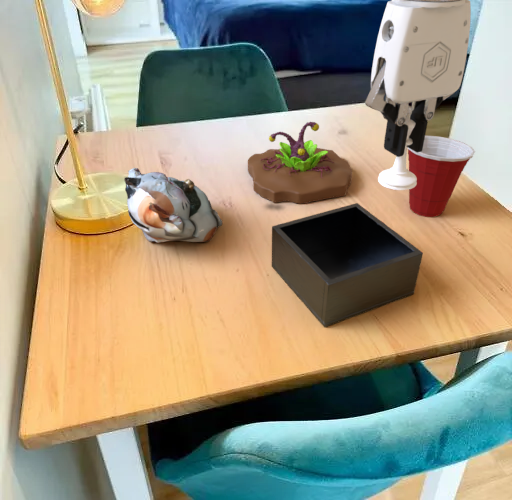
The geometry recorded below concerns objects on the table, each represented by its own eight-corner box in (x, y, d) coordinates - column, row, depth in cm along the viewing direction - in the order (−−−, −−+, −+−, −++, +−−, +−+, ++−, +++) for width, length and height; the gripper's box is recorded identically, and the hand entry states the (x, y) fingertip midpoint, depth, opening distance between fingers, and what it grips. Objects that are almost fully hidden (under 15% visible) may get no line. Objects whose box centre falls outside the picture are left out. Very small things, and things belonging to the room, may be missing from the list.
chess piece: (373, 185, 65) (384, 110, 59) (383, 170, 69) (394, 97, 63) (412, 193, 63) (426, 116, 58) (420, 177, 67) (434, 103, 61)
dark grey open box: (414, 294, 70) (423, 252, 66) (324, 327, 65) (328, 284, 61) (352, 241, 81) (357, 202, 77) (271, 266, 75) (271, 226, 71)
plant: (364, 199, 92) (372, 141, 85) (257, 207, 89) (257, 148, 83) (335, 153, 108) (340, 101, 101) (244, 159, 106) (243, 107, 99)
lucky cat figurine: (235, 235, 82) (213, 187, 70) (174, 278, 81) (140, 237, 68) (189, 178, 89) (162, 126, 77) (132, 217, 88) (95, 170, 75)
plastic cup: (468, 205, 90) (486, 142, 83) (444, 231, 83) (460, 164, 76) (411, 187, 95) (423, 126, 88) (384, 210, 88) (394, 146, 82)
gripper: (390, -2, 47) (367, 175, 58) (514, -15, 53) (472, 149, 64) (345, -13, 53) (332, 151, 64) (462, -23, 59) (431, 129, 69)
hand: (402, 149), depth 63 cm, fingers closed on chess piece
